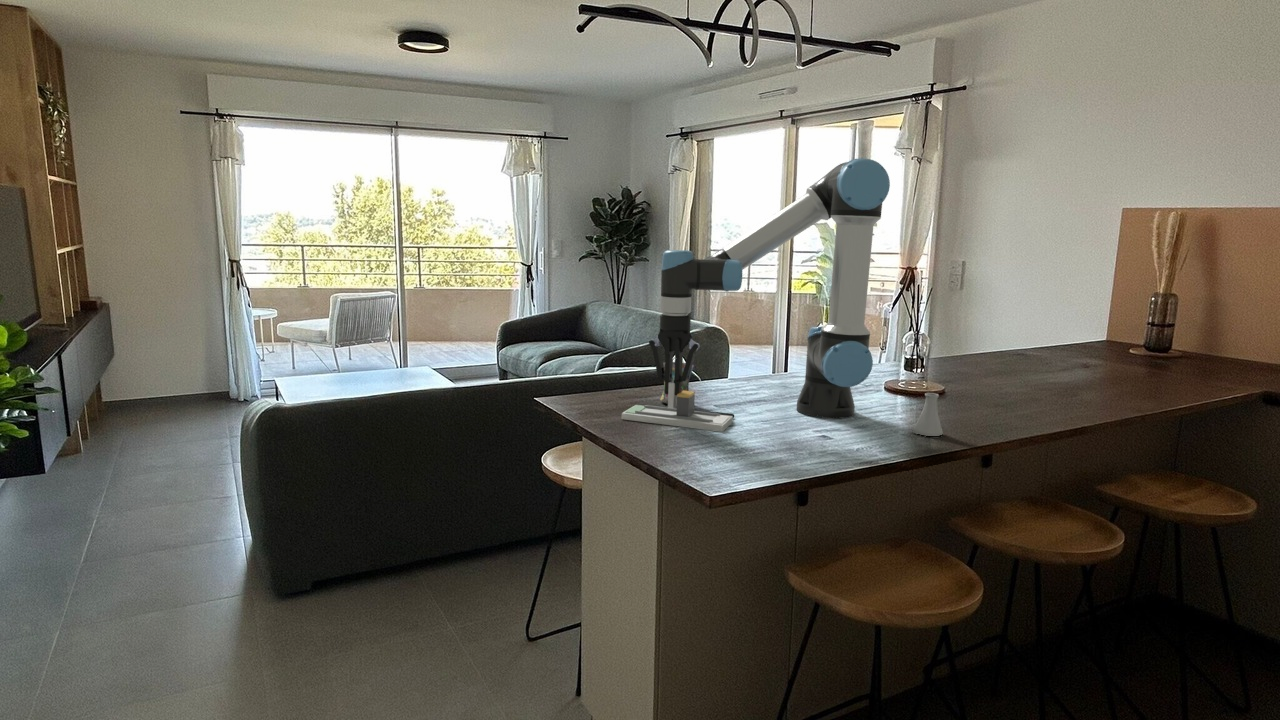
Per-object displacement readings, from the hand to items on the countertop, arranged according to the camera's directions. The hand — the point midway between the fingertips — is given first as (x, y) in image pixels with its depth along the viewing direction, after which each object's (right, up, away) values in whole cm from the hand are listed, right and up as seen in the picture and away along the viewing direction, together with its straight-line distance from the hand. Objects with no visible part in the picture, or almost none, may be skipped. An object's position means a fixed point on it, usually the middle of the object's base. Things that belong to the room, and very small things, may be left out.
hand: (672, 407), depth 193 cm
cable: (+5, -2, +7) cm, 9 cm away
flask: (+62, -6, -5) cm, 63 cm away
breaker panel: (+1, -3, 0) cm, 3 cm away
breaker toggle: (+3, -2, -1) cm, 4 cm away
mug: (+1, 0, +20) cm, 20 cm away
